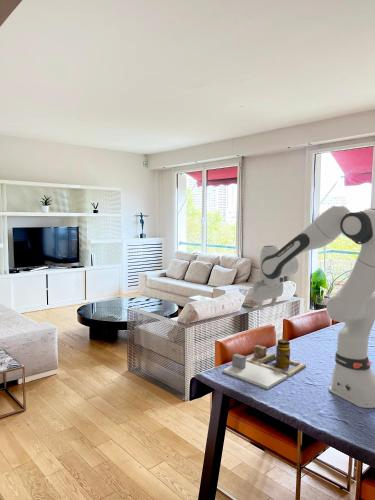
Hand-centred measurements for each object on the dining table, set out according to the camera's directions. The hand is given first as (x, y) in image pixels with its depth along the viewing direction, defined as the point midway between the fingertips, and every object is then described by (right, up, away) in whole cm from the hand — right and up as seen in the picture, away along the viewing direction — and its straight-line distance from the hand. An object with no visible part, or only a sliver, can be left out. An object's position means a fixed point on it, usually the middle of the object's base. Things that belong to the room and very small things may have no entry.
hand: (266, 307), depth 180 cm
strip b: (-9, -26, -17) cm, 32 cm away
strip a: (+3, -25, -5) cm, 26 cm away
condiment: (+5, -26, -6) cm, 27 cm away
